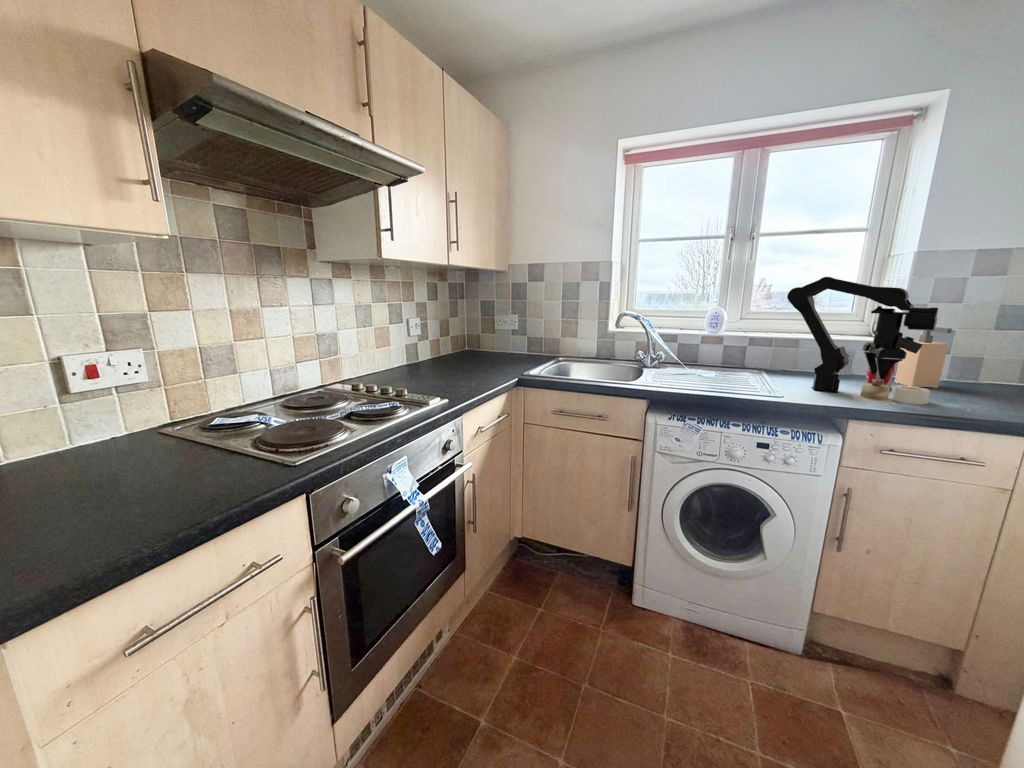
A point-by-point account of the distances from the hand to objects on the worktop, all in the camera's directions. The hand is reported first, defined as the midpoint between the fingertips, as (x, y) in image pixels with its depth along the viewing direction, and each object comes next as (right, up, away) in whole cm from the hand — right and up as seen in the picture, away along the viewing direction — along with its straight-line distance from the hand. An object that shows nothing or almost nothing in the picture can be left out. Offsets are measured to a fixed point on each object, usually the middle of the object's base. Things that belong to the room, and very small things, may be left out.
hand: (877, 376), depth 131 cm
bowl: (+8, -8, -2) cm, 11 cm away
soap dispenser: (+33, -4, +19) cm, 38 cm away
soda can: (+14, -4, +16) cm, 22 cm away
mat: (-1, -7, +2) cm, 7 cm away
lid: (0, -7, +1) cm, 7 cm away
